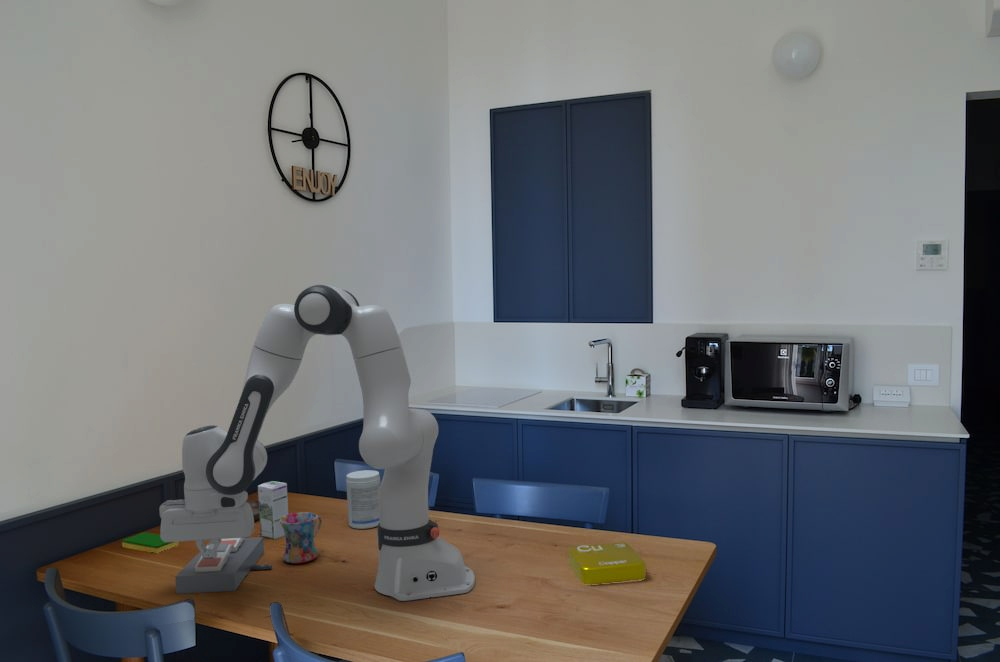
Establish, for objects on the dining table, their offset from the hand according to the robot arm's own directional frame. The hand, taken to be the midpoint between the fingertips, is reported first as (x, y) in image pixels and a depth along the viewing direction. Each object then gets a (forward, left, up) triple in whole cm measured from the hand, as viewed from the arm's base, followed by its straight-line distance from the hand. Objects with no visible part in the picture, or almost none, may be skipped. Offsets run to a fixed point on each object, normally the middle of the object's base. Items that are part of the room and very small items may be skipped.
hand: (209, 557), depth 172 cm
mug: (-18, -17, -7) cm, 25 cm away
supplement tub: (-30, -42, -7) cm, 52 cm away
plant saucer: (+9, -55, -7) cm, 56 cm away
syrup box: (-6, -36, -7) cm, 37 cm away
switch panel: (-2, -10, -7) cm, 12 cm away
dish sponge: (+26, -32, -8) cm, 42 cm away
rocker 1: (0, -4, -2) cm, 4 cm away
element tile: (-90, +2, -8) cm, 91 cm away
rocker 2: (0, -16, -2) cm, 16 cm away
